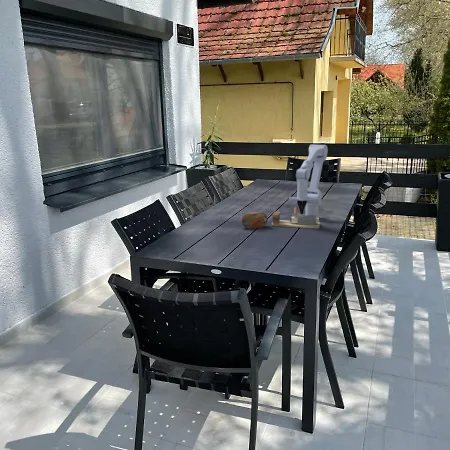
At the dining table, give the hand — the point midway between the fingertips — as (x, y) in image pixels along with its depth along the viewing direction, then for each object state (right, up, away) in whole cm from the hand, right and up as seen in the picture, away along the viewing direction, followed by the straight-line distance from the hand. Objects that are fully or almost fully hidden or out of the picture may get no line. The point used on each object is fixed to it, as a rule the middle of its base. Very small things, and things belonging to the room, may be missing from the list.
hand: (301, 213), depth 262 cm
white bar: (+1, -5, +1) cm, 5 cm away
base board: (-3, -6, +3) cm, 7 cm away
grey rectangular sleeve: (+3, -7, +1) cm, 7 cm away
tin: (-27, -8, 0) cm, 28 cm away
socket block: (-14, -6, +5) cm, 16 cm away
